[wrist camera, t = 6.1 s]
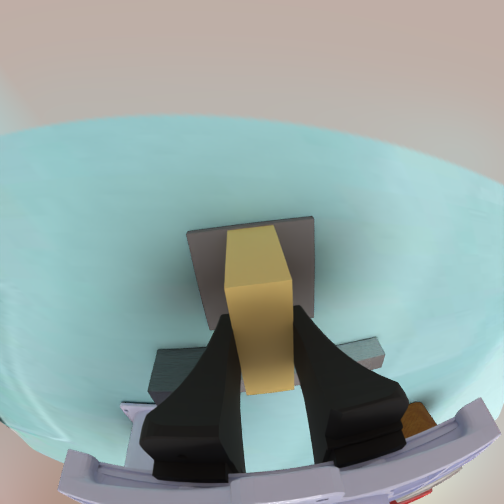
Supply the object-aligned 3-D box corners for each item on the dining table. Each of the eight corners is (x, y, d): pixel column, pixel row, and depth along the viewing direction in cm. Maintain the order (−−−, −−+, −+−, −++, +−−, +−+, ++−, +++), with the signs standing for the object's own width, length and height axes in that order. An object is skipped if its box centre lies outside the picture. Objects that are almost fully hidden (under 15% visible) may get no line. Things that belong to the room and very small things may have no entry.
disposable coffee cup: (443, 394, 28) (476, 459, 17) (398, 432, 31) (421, 494, 21) (405, 392, 26) (441, 476, 15) (355, 434, 29) (376, 509, 19)
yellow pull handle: (280, 323, 18) (294, 389, 13) (243, 328, 18) (246, 395, 13) (273, 224, 15) (291, 279, 10) (227, 230, 15) (224, 288, 10)
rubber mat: (312, 313, 19) (313, 317, 18) (210, 326, 19) (209, 330, 18) (312, 216, 16) (313, 218, 15) (187, 231, 16) (186, 234, 15)
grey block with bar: (369, 363, 22) (388, 406, 18) (176, 388, 22) (169, 435, 17) (379, 321, 20) (406, 367, 15) (157, 349, 20) (145, 401, 15)
